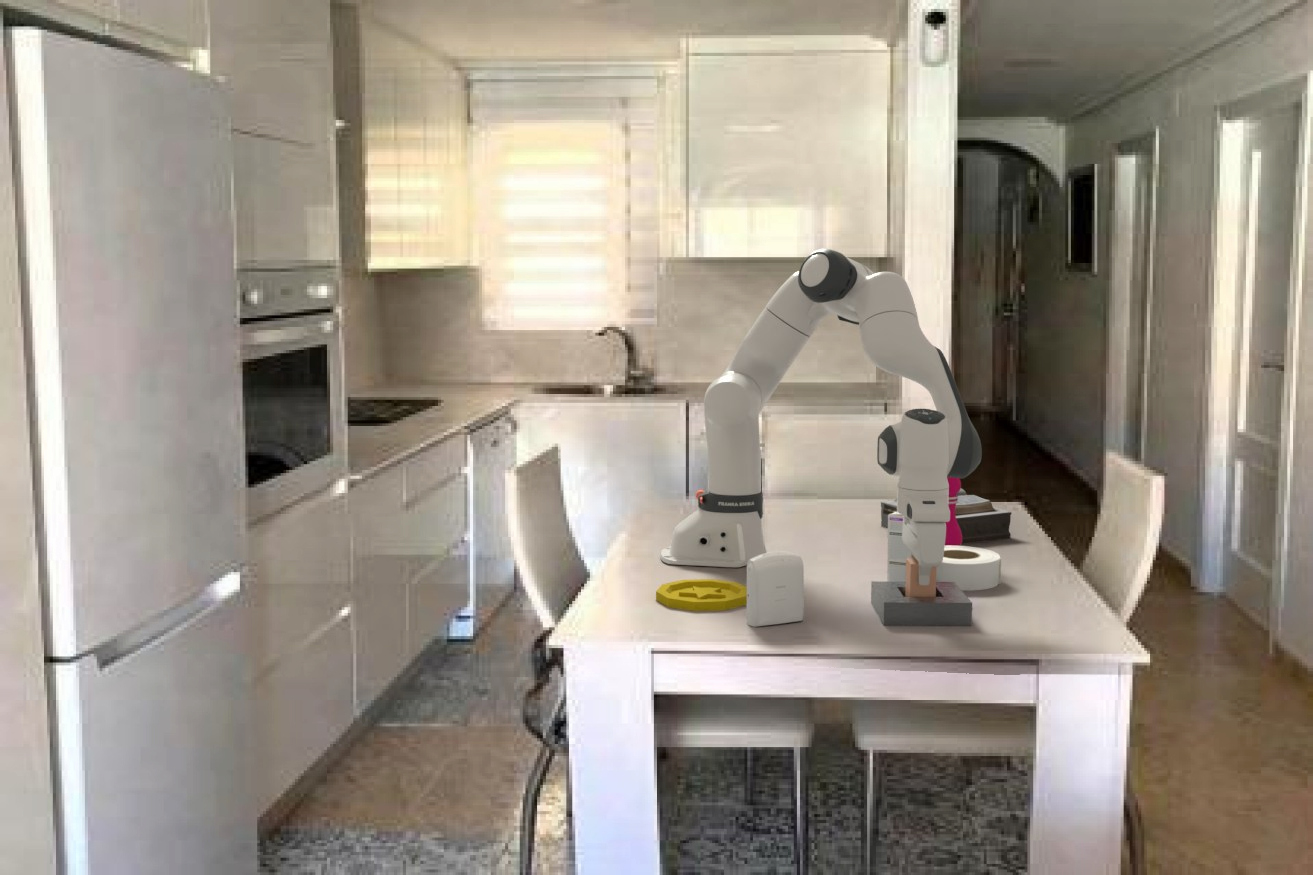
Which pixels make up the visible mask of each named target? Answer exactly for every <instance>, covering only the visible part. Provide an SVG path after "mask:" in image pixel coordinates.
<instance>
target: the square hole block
mask: <svg viewBox="0 0 1313 875" xmlns="http://www.w3.org/2000/svg"><path fill="white" fill-rule="evenodd" d="M870 583H871V592H870V603H871V605H872V607H873V609H874V611H875V613H876V614H877V616H878V618H879V620H880V622H881V623H882V626H940V627H941V626H949V627H950V626H951V627H952V626H953V627H954V626H956V627H957V626H958V627H959V626H960V627H962V626H963V627H964V626H965V627H966V626H968V627H971V626H972V624H973V622H972V621H973V620H972V619H973V618H972V617H973V602H972V601H971V600H970V599H969V598H968V596H967V595H966V594H965V592H964V591H963V590H961V589H960V588H959V587H958V586H957V585H956V583H955V582H936V597H905V589H906V582H887V581H877V580H876V581H871V582H870Z"/></svg>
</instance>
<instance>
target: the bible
mask: <svg viewBox="0 0 1313 875" xmlns="http://www.w3.org/2000/svg"><path fill="white" fill-rule="evenodd" d="M957 496H958V498H957V499H958V503H956V507H955V516H956V520H957V523H958V525H959V527H960V530H961V533H962V543H961V545H962V544H970V543H980V542H981V543H982V542H989V541H998V540H1006V539H1011V535H1012V534H1011V532H1010V525H1011V517H1012V511H1009V510H1005V509H1002V508H999V507H996V506H994V505H993V504H992V502H991V500H989V499H985V498H984V497H983V498H982V497H980V496H978V495H975V494H967V492H966V491H965V490H964V489H963V488H962V487H961V488H960V490H959V492H958V493H957ZM880 509H881V510H880V513H881V514H880V515H881V517H880V518H881V522H880V527H882V528H885V529H888V515H889V514H892V513H894V512H897V498H896V499H894V500H887V501H886V500H885V501H880Z"/></svg>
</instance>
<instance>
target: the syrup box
mask: <svg viewBox="0 0 1313 875" xmlns="http://www.w3.org/2000/svg"><path fill="white" fill-rule="evenodd" d="M902 526H903V514H900V513H898V512H894V513H892V514H889V515H888V528H887V581H886V582H906V558H911V557H910V551H909V550H908V548H907V547H906V546H905V544H904V543H903V541H902Z"/></svg>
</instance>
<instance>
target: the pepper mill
mask: <svg viewBox="0 0 1313 875" xmlns="http://www.w3.org/2000/svg"><path fill="white" fill-rule="evenodd" d="M947 479H948V483H949V505H948V506H949V509H950V521H949V522H945V523H946V538H945V546H946V545H952V546H962V544H961V543H962V533H961V530H960V527H959V525H958V523H957V520H956V516H955V507H956V503H958V499H957V498H958V496H957V493H958V492H959V490H960V488H961V489H962V482H961V478H950V477H947Z"/></svg>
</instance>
